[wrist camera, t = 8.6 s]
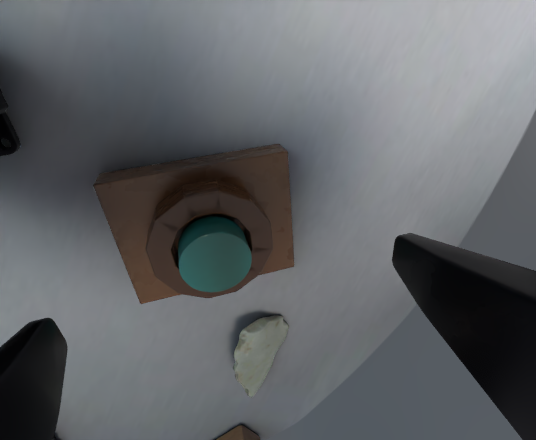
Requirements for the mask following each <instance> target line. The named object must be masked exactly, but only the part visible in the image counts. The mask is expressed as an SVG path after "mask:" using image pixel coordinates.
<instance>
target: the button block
mask: <svg viewBox="0 0 536 440" xmlns="http://www.w3.org/2000/svg"><path fill="white" fill-rule="evenodd" d="M93 186H94V189H95V191H96V194H97V196H98V199H99V201H100V204H101V206H102V209H103V211H104V214H105V216H106V219H107V221H108V224H109V226H110V229H111V231H112V234H113V236H114V239H115V241H116V244H117V246H118V249H119V251H120V254H121V256H122V259H123V261H124V264H125V266H126V269H127V271H128V274H129V276H130V279H131V281H132V284H133V286H134V289H135V291H136V294H137V296H138V299H139V301H140V303H141V304H143V303H147V302H151V301H155V300H159V299H164V298H168V297H172V296H176V295H180V294H184V295H191V296H197V297H203V298H212V297H216V296H220V295H224V294H228V293H232V292H236V291H237V290H239V289H241V288H242V287H243V286H245V285H246V284H247V283H249V282H250V281H251V280H253V279H254V278H255V277H257V276H258V275H262V274H266V273H270V272H274V271H278V270H282V269H286V268H290V267H294V252H293V234H292V217H291V199H290V181H289V164H288V152H287V151H286V150H285V149H284V148H283V147H282V146H281V145H280V144H274V145H268V146H262V147H256V148H250V149H244V150H238V151H232V152H226V153H220V154H214V155H208V156H202V157H196V158H190V159H184V160H178V161H172V162H166V163H160V164H154V165H148V166H142V167H136V168H130V169H124V170H118V171H112V172H106V173H100V174H99V176H98V177H97V179H96V181H95V183H94V185H93ZM210 216H219V217H224V218H227V219H230V220H232V221H233V222H235V223H236V224H237V225H238V226H239V227H240V228H241V229H242V231H243V233H244V236H245V238H246V241H247V243H248V246H249V248H250V251H251V255H252V263H251V267H250V269H249V272H248V273H247V275H246V276H245V278H244V279H243V280H242V281H241V282H239V283H238V284H237V285H235V286H233V287H232V288H229V289H227V290H224V291H220V292H203V291H199V290H196V289H194V288H192V287H191V286H189V285H188V284H187V283H186V282H185V281H184V280H183V279H182V277H181V275H180V272H179V264H178V242H179V238H180V236H181V234H182V233H183V231H184V230H185V229H186V228H187V227H188V226H189V225H190V224H191V223H193V222H195V221H196V220H199V219H201V218H205V217H210Z"/></svg>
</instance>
